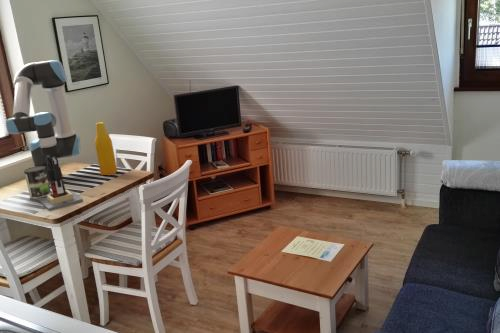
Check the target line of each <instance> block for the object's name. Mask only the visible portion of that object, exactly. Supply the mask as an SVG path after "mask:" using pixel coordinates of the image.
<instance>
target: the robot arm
mask: <svg viewBox="0 0 500 333" xmlns="http://www.w3.org/2000/svg"><path fill="white" fill-rule="evenodd" d="M66 82H67V74H66V71H65V68H64V66H63V64H62V62H61V61H59V60H46V61H45V60H44V61H38V62H37V61H36V62H30V63H26V64H24V65H23V66H22V67H20V68H19V70H17V71H16V74H15V76H14V78H13V86H14V88H15V89H14V99H13V107H12V116H11V117H10V118H7V119H6V121H5V126H6V130H7V132H8V134H10V135H17V134H23V133H24V134H25V133H30V132H31V133H32V132H36V134H37V138H36V139H34V140H32V141H30V142H29V149H30V150H29V151H30V153H31V157H32V162H33V167H37V166H45V168H46V173H47V178H48V182H50V179H49V175H48V171H47V170H48V169H49V168H52V170H53V174H54V177H55V180H54V182H55V184H56V188H57V193H58V194H60V193H64V191H63V187H62V182H61V179H62V177H63V176H62V177H61V173H62V171H61V173H60V168H61V167H60V164H59V160H58V159H65V158H73V157H78V156H80V154H81V137H80V135H79V134H77V133H76V131H75V130H73V128H72V123H71V120H70V116H69V112H68V107H67V102H66V97H65V93H64V89H63V88H64V86H65V85H66V84H65V83H66ZM37 85H38V86H39V85H41V88H42V89H43V90H44V91H45V92H46V97H47V100H48V104H49V109H50V111H49V112H48V111H43V112H37V113H35V114H33V115H30V109H31V100H32V99H31V97H32V90H33V89H34V87H35V86H37ZM59 167H60V168H59ZM62 174H63V173H62Z"/></svg>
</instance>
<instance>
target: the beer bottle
mask: <svg viewBox="0 0 500 333" xmlns="http://www.w3.org/2000/svg"><path fill="white" fill-rule="evenodd" d="M95 131H96V135H95V139H94V147H95V151H96V156H97V162H98V166H99V173H100V175H101V176H103V175H108V176H112V174H113V175H115V174H117V173H116V172H118V166H117V164H116V163H117V162H116V158H115V156H116V155H115V152H114V147H113V141H112V139H111V137H110V135H109V134H108V132H107V129H106V126H105V123H104V122H103V121H100V122H99V121H98V122H95Z"/></svg>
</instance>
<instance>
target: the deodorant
mask: <svg viewBox="0 0 500 333" xmlns="http://www.w3.org/2000/svg"><path fill="white" fill-rule="evenodd" d="M59 168H60V173H61V172H62V169H61V167H60V166H59ZM47 171H48V175H49V179H50V181H49V185H50V187H51V188H50V189H51V193H53V197H54V198H56V197H60V196H64V195H66V191H65V190H66V188H65V182H64V178H63V173H61V177H62V179H61V182H62V187H63V191H64V193H60V194H58V193H57V188H56V184H55V182H54V180H55V177H54V174H53V170H52V168H49V169H48V170H47Z"/></svg>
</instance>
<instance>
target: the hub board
mask: <svg viewBox="0 0 500 333" xmlns="http://www.w3.org/2000/svg"><path fill="white" fill-rule="evenodd" d="M65 191H66V195H64V196H60V197H56V198H54V197H53V193H52V192H51V194H48V195H47V196H46V197H42V198H38V199H39V200H38V201H39V203H40V204H41V205H42V206H44V207H45V209H46V210H47V211H48V212H49V211H53V210H56V209H60V208H63V207H64V208H65V207H67V206H70V205H74V204H75V205H76V204H77V203H81V202H84V199H83V198H82V197H81V196H79V195H78V194H77V193H76V192H74V191H72V190H69V189H66V188H65Z"/></svg>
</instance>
